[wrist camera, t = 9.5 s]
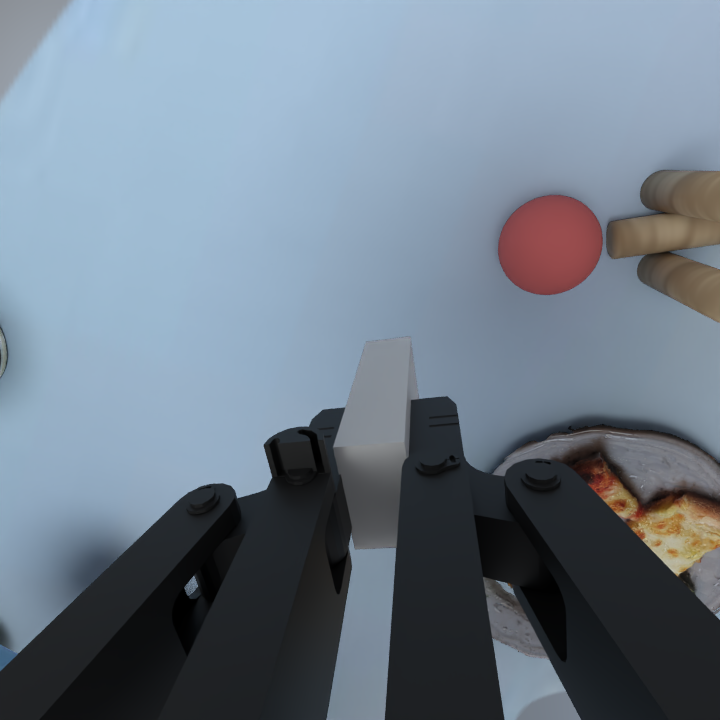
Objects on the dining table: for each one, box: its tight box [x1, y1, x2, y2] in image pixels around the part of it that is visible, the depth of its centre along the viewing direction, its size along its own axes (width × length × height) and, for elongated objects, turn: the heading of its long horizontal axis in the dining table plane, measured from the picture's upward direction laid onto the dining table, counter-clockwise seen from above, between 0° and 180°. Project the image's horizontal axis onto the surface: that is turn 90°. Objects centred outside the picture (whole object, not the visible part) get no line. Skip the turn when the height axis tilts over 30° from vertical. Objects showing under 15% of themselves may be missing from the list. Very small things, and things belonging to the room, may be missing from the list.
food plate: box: [483, 424, 720, 659], centre depth 40 cm, size 25×23×4 cm
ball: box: [498, 195, 603, 295], centre depth 30 cm, size 6×6×6 cm
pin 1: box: [640, 170, 720, 222], centre depth 26 cm, size 2×2×8 cm
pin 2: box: [637, 252, 720, 323], centre depth 28 cm, size 2×2×8 cm
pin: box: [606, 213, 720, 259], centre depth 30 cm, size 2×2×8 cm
